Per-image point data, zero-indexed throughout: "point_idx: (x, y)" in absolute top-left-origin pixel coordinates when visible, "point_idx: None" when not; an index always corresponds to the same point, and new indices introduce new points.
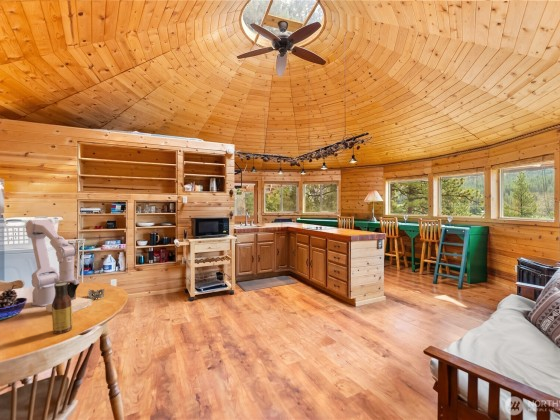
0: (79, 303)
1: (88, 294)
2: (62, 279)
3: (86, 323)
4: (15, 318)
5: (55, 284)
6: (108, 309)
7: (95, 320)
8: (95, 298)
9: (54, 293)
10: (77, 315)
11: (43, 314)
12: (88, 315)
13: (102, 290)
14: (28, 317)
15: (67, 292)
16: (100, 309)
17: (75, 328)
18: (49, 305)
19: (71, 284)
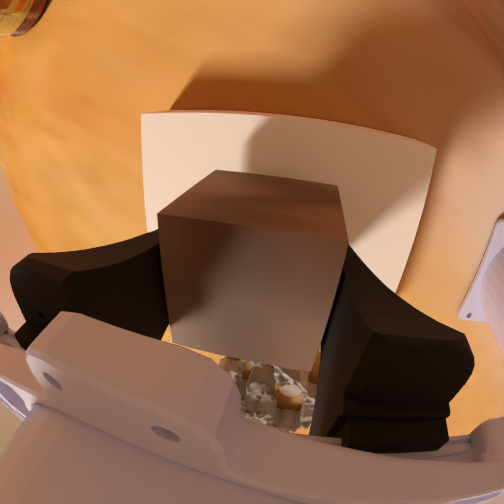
0: (152, 224)
1: (301, 387)
2: (43, 443)
3: (10, 89)
4: (488, 16)
5: (431, 346)
6: (51, 235)
7: (6, 124)
8: (246, 361)
9: (500, 339)
10: (99, 126)
11: (370, 74)
12: (56, 149)
13: (265, 421)
14: (425, 21)
15: (168, 244)
16: (75, 229)
17: (12, 44)
18: (391, 138)
19: (33, 321)
